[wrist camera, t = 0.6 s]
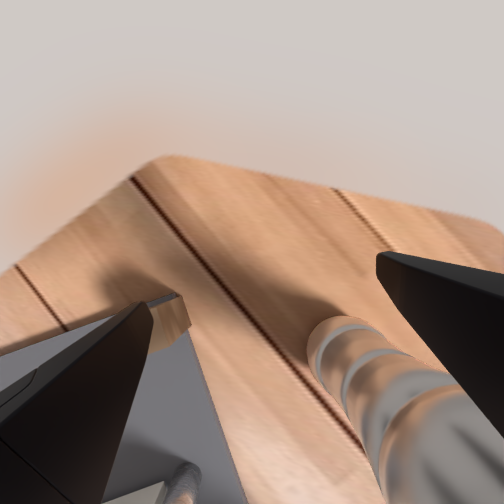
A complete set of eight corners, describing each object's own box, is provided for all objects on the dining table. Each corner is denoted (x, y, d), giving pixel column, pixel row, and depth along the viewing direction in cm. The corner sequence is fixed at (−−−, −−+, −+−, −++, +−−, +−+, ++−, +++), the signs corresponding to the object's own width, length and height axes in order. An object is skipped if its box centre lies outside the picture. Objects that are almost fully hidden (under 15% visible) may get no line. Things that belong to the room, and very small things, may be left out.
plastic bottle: (290, 328, 23) (526, 765, 3) (353, 299, 23) (1008, 537, 3) (318, 390, 23) (797, 1346, 3) (383, 361, 23) (1325, 1080, 3)
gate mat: (248, 505, 22) (248, 516, 21) (6, 594, 22) (-6, 610, 21) (175, 292, 23) (171, 293, 22) (-57, 377, 23) (-71, 382, 22)
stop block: (191, 324, 23) (169, 346, 17) (162, 335, 23) (130, 361, 17) (181, 295, 23) (155, 307, 17) (152, 306, 23) (116, 321, 17)
